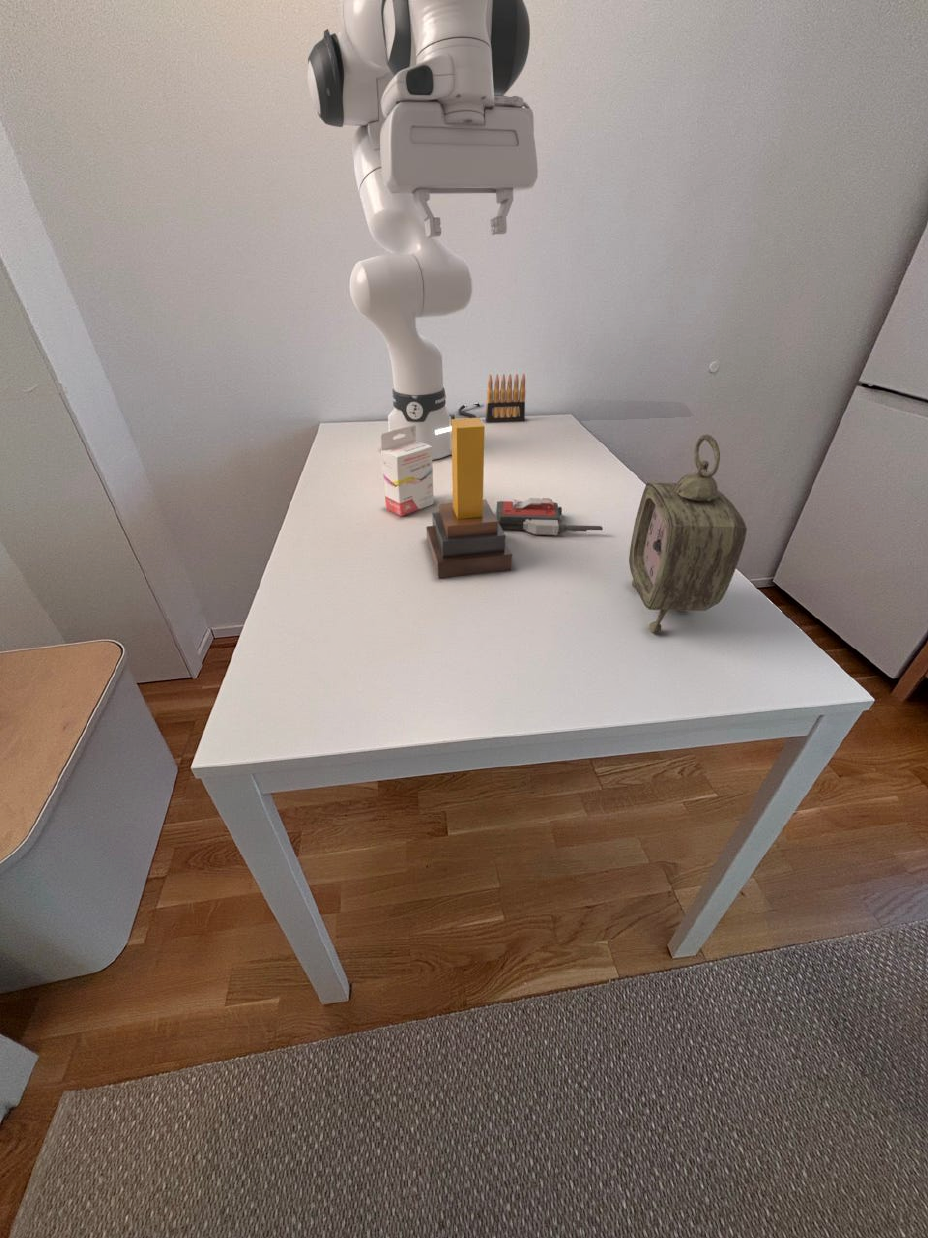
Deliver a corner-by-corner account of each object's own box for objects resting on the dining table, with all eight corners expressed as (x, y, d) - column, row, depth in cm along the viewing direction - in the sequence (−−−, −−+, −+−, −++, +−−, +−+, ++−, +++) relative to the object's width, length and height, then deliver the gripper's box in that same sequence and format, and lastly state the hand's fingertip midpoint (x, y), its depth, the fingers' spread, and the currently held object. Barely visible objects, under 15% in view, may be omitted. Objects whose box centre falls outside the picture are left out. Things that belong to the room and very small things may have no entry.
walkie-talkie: (489, 535, 92) (602, 538, 92) (490, 513, 90) (606, 515, 89) (490, 513, 99) (595, 515, 98) (490, 491, 97) (598, 493, 96)
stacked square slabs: (427, 541, 91) (424, 499, 86) (493, 534, 93) (494, 492, 88) (438, 578, 82) (436, 534, 77) (511, 570, 84) (514, 526, 79)
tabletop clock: (621, 580, 81) (659, 417, 65) (680, 581, 81) (731, 418, 65) (644, 641, 70) (695, 461, 54) (711, 642, 69) (783, 462, 54)
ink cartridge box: (401, 518, 98) (395, 440, 89) (385, 509, 101) (377, 433, 91) (435, 503, 103) (432, 428, 93) (419, 496, 105) (414, 422, 96)
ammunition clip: (486, 422, 142) (487, 375, 134) (485, 420, 143) (486, 373, 136) (524, 421, 143) (527, 374, 135) (523, 418, 144) (526, 372, 137)
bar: (452, 507, 83) (451, 419, 75) (476, 505, 84) (478, 417, 75) (457, 519, 80) (456, 428, 72) (482, 516, 81) (484, 426, 72)
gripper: (519, 107, 67) (524, 238, 73) (367, 99, 60) (386, 242, 67) (545, 85, 62) (548, 227, 68) (382, 73, 55) (401, 231, 62)
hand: (467, 235), depth 68 cm, fingers open, 8 cm apart
